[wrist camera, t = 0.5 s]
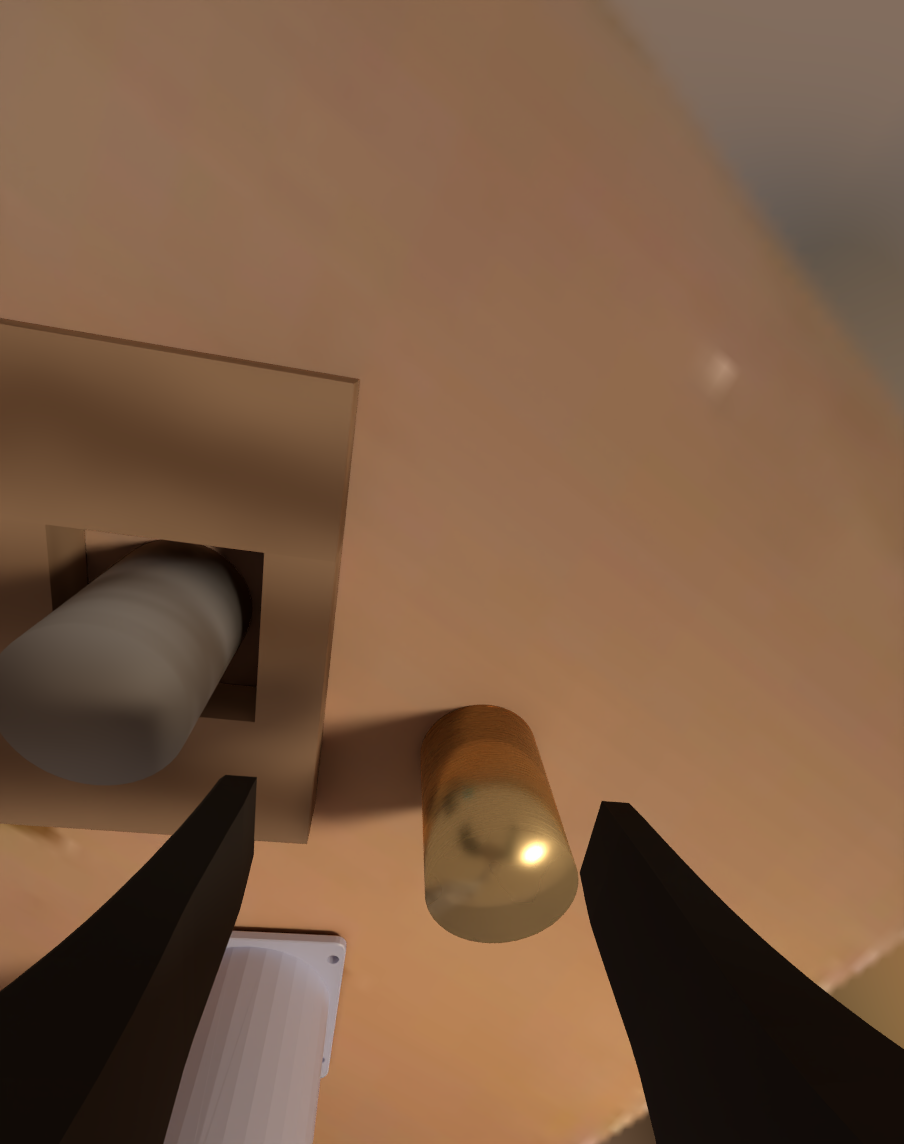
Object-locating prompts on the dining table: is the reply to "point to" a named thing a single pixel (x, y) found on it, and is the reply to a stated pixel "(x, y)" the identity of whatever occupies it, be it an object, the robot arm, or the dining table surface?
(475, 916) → the brass sleeve
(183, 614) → the walnut jig
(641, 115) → the dining table surface
